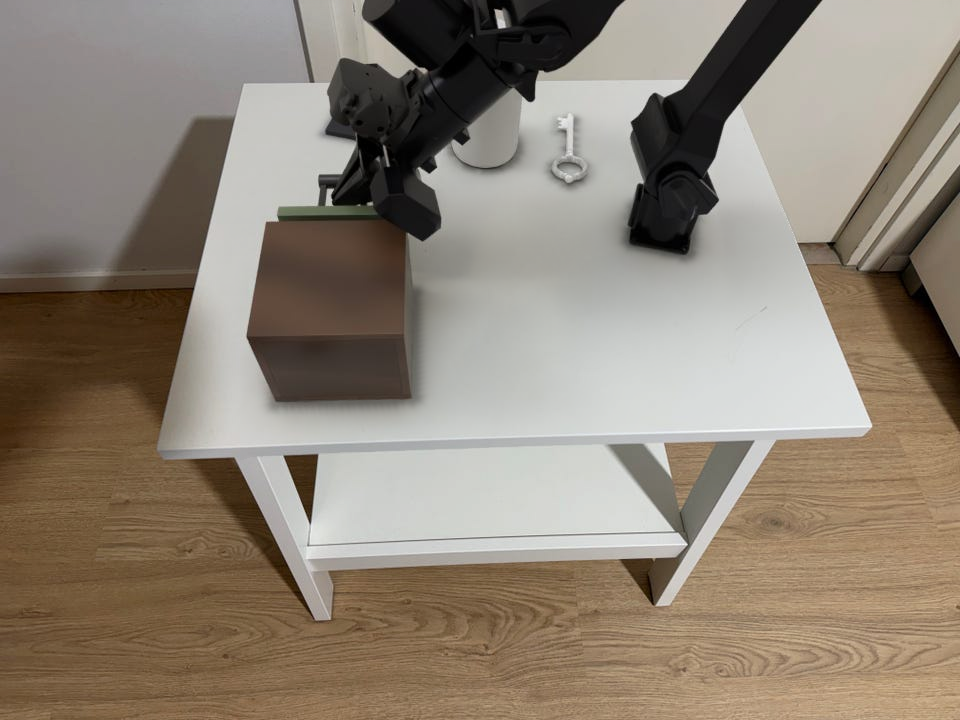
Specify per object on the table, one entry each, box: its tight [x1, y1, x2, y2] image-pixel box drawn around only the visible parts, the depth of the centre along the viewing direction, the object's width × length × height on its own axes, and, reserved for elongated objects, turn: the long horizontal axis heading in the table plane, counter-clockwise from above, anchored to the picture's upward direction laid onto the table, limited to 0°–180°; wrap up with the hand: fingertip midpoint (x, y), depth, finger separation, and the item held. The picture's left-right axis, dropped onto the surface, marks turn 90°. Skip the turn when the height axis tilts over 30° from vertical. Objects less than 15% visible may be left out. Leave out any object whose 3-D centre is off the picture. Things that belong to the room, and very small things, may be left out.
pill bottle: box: [451, 17, 523, 169], centre depth 78 cm, size 8×8×15 cm
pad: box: [324, 117, 356, 141], centre depth 86 cm, size 4×4×1 cm
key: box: [551, 112, 589, 184], centre depth 84 cm, size 12×1×4 cm
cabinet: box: [245, 220, 414, 403], centre depth 64 cm, size 13×13×11 cm
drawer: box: [276, 173, 385, 221], centre depth 67 cm, size 17×11×9 cm
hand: (334, 202), depth 68 cm, fingers closed
